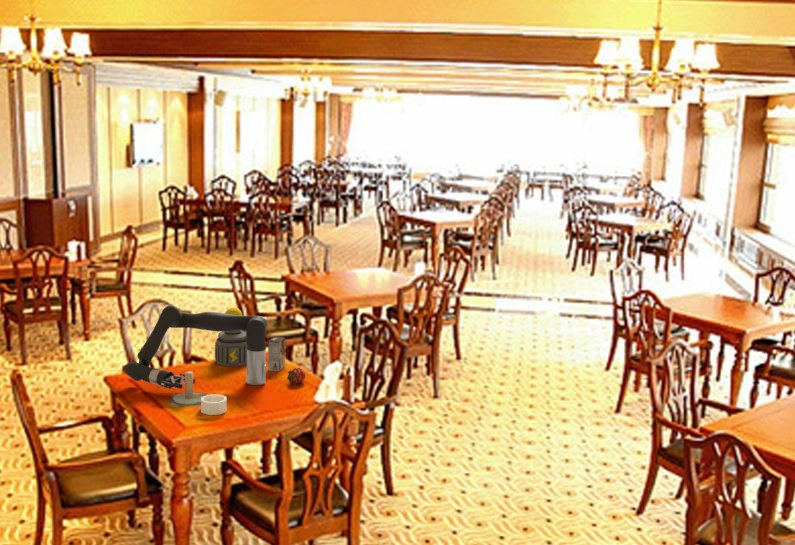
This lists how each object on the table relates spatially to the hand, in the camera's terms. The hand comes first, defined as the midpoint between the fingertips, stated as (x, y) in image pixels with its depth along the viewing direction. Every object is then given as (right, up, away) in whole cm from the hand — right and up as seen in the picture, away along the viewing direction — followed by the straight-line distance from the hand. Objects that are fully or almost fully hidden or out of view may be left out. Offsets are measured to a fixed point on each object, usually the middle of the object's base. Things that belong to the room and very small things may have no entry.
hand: (188, 384), depth 396 cm
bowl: (+14, -11, -11) cm, 21 cm away
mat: (0, -8, +1) cm, 8 cm away
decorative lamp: (+9, +3, +63) cm, 63 cm away
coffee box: (+33, +1, +55) cm, 64 cm away
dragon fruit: (+46, -4, +34) cm, 57 cm away
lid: (0, -7, +1) cm, 8 cm away
